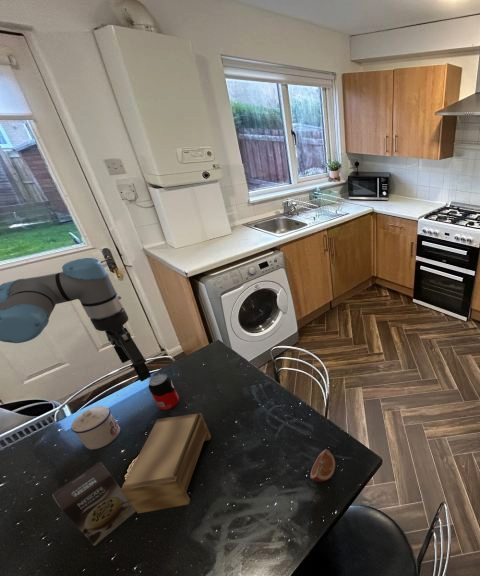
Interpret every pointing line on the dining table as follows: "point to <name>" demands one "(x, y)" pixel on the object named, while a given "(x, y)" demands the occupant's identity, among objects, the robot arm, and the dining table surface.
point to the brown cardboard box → (94, 503)
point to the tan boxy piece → (166, 463)
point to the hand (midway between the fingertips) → (136, 369)
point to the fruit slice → (323, 467)
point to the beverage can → (163, 391)
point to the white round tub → (96, 427)
